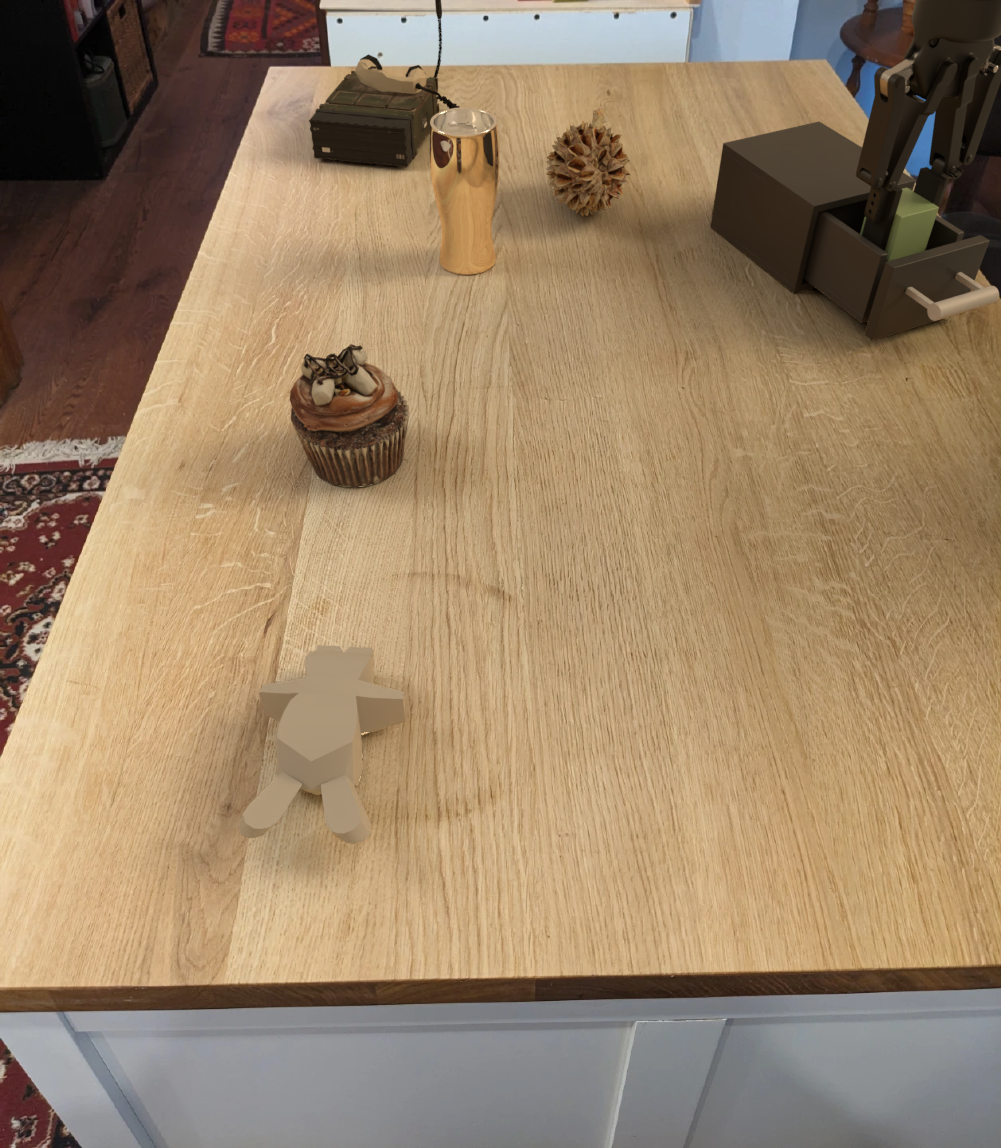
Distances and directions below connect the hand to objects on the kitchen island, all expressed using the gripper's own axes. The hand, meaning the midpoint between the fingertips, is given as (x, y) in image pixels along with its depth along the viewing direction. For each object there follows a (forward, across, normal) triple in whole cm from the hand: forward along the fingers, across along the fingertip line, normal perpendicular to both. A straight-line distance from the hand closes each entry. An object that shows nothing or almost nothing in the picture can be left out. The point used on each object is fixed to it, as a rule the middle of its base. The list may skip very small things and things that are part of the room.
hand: (892, 243), depth 99 cm
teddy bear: (+7, +68, +28) cm, 74 cm away
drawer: (+6, 0, +1) cm, 6 cm away
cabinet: (+7, 0, -13) cm, 15 cm away
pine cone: (+7, +15, -34) cm, 38 cm away
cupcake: (+7, +56, 0) cm, 56 cm away
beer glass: (+7, +34, -26) cm, 43 cm away
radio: (+7, +28, -60) cm, 67 cm away
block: (0, 0, 0) cm, 0 cm away
